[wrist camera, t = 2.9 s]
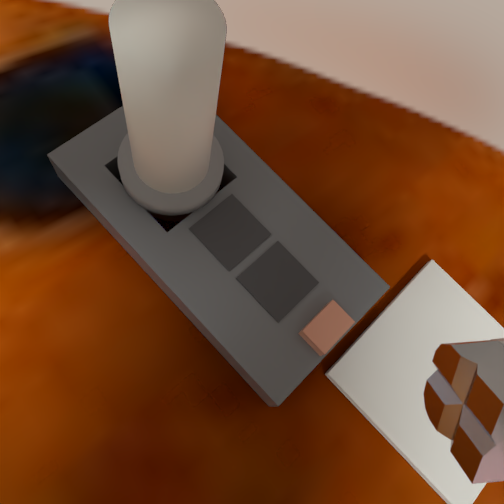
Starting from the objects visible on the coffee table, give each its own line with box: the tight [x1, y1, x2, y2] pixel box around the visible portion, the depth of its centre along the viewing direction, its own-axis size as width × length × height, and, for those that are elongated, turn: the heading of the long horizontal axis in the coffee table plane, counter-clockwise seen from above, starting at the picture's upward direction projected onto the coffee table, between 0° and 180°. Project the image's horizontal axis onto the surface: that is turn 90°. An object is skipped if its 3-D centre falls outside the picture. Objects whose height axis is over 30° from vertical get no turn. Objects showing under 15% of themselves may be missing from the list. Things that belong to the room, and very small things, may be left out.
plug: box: [109, 0, 227, 222], centre depth 22 cm, size 6×6×13 cm
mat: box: [325, 259, 504, 504], centre depth 26 cm, size 10×10×1 cm
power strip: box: [47, 106, 390, 407], centre depth 26 cm, size 18×9×3 cm, turn 45°
